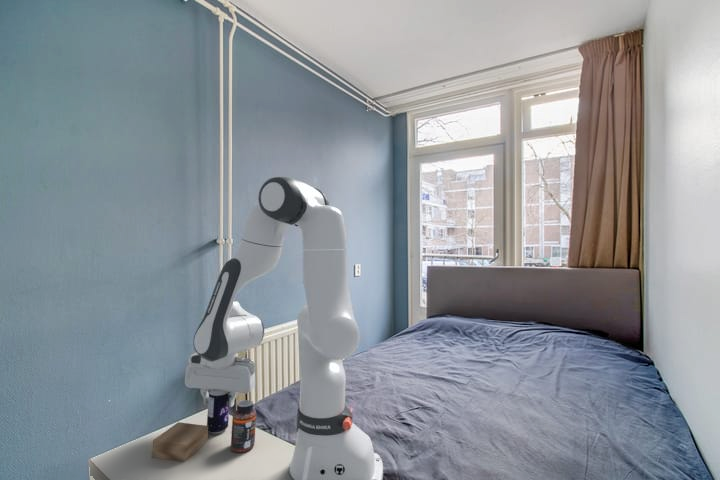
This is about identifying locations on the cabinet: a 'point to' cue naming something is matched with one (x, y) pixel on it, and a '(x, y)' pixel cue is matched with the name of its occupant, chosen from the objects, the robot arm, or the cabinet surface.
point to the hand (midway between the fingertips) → (218, 404)
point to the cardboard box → (180, 441)
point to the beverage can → (218, 411)
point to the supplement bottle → (243, 427)
